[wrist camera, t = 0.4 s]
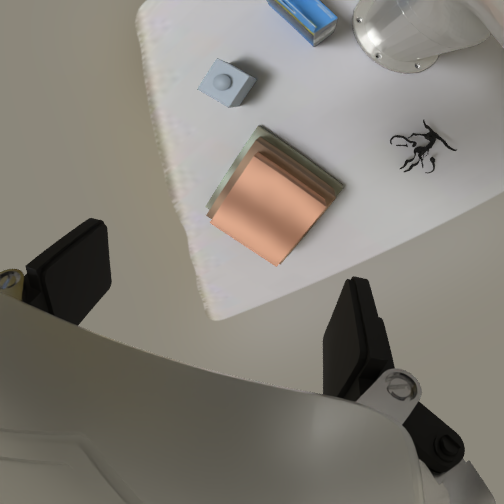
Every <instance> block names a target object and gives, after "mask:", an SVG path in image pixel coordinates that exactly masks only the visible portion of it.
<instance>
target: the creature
mask: <svg viewBox="0 0 504 504" xmlns="http://www.w3.org/2000/svg"><path fill="white" fill-rule="evenodd" d="M423 123H424V126H425V128H427V129H429V131H430V132H429V133H427V134H415V133H413V134H412V135H411V136H410V137H412V136H413V135H415V136H416V135H422V136H424V137H425V138H426V139H427V140H429V141H430V142H429V144H428V145H427V146H425V147H416V148H415V149H414V154H415V155H416V153H418V157H419V161H420V159H421V161H423V159H422V157H421V156H422V155H423V157H424V153H425V152H426V151H427V150H428V151H429V149H430V148H432V146H433V144H434V143H435V141H436V138H437V139H439V140H441V141H442V142H443V143H444V145H445V146H446V147H447V148H449V149H451V150H453V151H456V150H457V149H456V150H455V149H453V148H451V147H450V146H448V144H447V143H446V142H445V141H444V140H443V139H442V138H441V137H440V136H439V135H438V134H437V133H435V132H434V131H433V130H432V129H431V128H430V127H429V126H428V125H426V124H425V121H424V120H423ZM394 137H399V138H404V139H405V140H406V142H407V141H408V142H410V143H413V145H412V147H415V146H416V144H417V143H416V142H415V141H410V140H408V139H407V138H406V137H404V136H399V135H396V136H393V137H392V138H391V140H392V139H393V138H394ZM410 137H408V138H410ZM391 140H390V143H391ZM391 144H392V143H391ZM396 146H406V147H408V146H407V144H406V145H396ZM426 156H427V155H426ZM414 158H415V156H414ZM414 158H412V159H410V160H406V161H405V164H404V166H403V167H401V168H400V169H402V168H404V167H405V166H406V165H407V163H408V162H412V161H413V160H414ZM432 160H433V161H432ZM419 161H418V162H417V163H415V164H412V165H411V166H410V168H409V169H408V170H406V171H404V172H407V171H410V170H411V169H412V168H413V166H416V165H417V164H418V163H419ZM430 161H431V162H432V164H433V170H432V171H431V172H433V171H434V169H435V164H434V162H435V159H434V158H433V157H431V158H430ZM421 164H422V168H423V163H421ZM431 172H429V173H431ZM425 173H426V172H425Z"/></svg>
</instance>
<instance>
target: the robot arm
mask: <svg viewBox="0 0 504 504" xmlns="http://www.w3.org/2000/svg"><path fill="white" fill-rule="evenodd" d="M357 20H359V21H360V23H358V22H357ZM352 26H353V31H354V35H355V37H356V39H357V42H358V43H359V45H360V47H361V48H362V50H363V51H364V52H365V53H366V54H367V55H368V56H369V57H370V58H371V59H372V60H373V61H375V62H376V63H377V64H379V65H381V66H382V67H384V68H386V69H389V70H391V71H395V72H399V73H415V72H420V71H423V70H425V69H427V68H429V67H430V66H431V65H432V64H433V63H434V62H435V61H436V60H437V58H438V56H439V54H442V53H446V52H450V51H455V50H459V49H463V48H467V47H471V46H475V45H478V44H480V43H482V42H483V41H485V40H486V39H487V38H488V37H489V36H490V35H491V34H492V35H493V36H494V38H495V39H496V40H497V41H498V42H499V43H500V45H501V46H502V47H503V49H504V0H360V1H359V3H358V4H357V6H356V8H355V10H354V13H353V18H352ZM376 55H378V56H379V59H377V58H376ZM415 65H417V68H416V67H415ZM26 270H27V274H26V275H25V276H24V274H23V272H22V271H21V270H19V269H7V270H4V271H2V272H0V504H496V503H495V499H494V497H493V495H492V493H491V492H490V490H489V489H488V487H487V486H486V484H485V483H484V481H483V480H482V478H481V477H480V475H479V474H478V472H477V471H476V469H475V468H474V466H473V465H472V464H471V462H470V461H467V462H465V461H464V459H463V456H464V452H465V448H464V443H463V441H462V439H461V437H460V436H459V435H458V434H457V433H456V432H455V431H454V430H452V429H451V428H450V427H449V426H448V425H446V424H445V423H444V422H443V421H442V420H440V419H439V418H438V417H437V416H436V415H434V414H433V413H432V412H431V411H430V410H428V409H427V408H426V407H425V406H423V404H421V403H420V402H419V400H420V397H421V394H422V390H421V386H420V383H419V382H418V380H417V379H416V378H415V377H414V376H413V375H412V374H411V373H409V372H407V371H405V370H402V369H395V367H394V363H393V358H392V354H391V350H390V346H389V341H388V338H387V333H386V330H385V326H384V322H383V320H382V318H380V317H378V314H377V310H376V306H375V302H374V299H373V295H372V291H371V288H370V284H369V281H368V280H367V279H363V278H359V277H352V279H351V280H349V279H347V280H346V281H345V284H344V286H343V289H342V292H341V294H340V297H339V299H338V302H337V305H336V307H335V309H334V312H333V314H332V317H331V319H330V322H329V324H328V326H327V329H326V331H325V334H324V337H323V394H318V393H313V392H308V391H302V390H298V389H293V388H287V387H282V386H277V385H273V384H268V383H263V382H259V381H254V380H250V379H245V378H241V377H237V376H233V375H229V374H225V373H221V372H217V371H213V370H209V369H205V368H202V367H198V366H194V365H191V364H188V363H184V362H180V361H177V360H174V359H171V358H167V357H164V356H161V355H158V354H155V353H151V352H148V351H145V350H142V349H139V348H136V347H133V346H130V345H127V344H125V343H122V342H119V341H116V340H114V339H111V338H108V337H106V336H103V335H100V334H98V333H95V332H92V331H90V330H87V329H85V328H82V327H79V326H78V325H79V324H80V322H81V321H82V320H83V319H84V318H85V316H86V315H87V314H88V313H89V312H90V311H91V309H92V308H93V307H94V306H95V305H96V303H97V302H98V301H99V300H100V299H101V298H102V297H103V295H104V294H105V293H106V292H107V291H108V290H109V288H110V286H111V282H112V281H111V270H110V260H109V247H108V232H107V226H106V225H105V224H104V222H103V221H102V220H97V219H93V218H89V219H88V220H86V221H85V222H83V223H82V224H81V225H79V226H78V227H76V228H75V229H73V230H72V231H71V232H69V233H68V234H67V235H65V236H64V237H62V238H61V239H60V240H58V241H57V242H56V243H54V244H53V245H52V246H50V247H49V248H48V249H46V250H45V251H44V252H43V253H41V254H40V255H39V256H37V257H36V258H35V259H34V260H32V261H31V262H30V263H29V264H27V265H26Z"/></svg>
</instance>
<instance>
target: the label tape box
mask: <svg viewBox="0 0 504 504" xmlns="http://www.w3.org/2000/svg"><path fill="white" fill-rule="evenodd" d="M267 2H268V4H269V5H270V6H271V7H272V8H273V9H274V10H275V11H276V12H277V13H279V14H280V15H281V16H282V17H283V18H284V19H285V20H286V21H287V22H288V23H289V24H291V25H292V26H293V27H294V28H295V29H296V30H297V31H298V32H299V33H300V34H301V35H302V36H303V37H304V38H305V39H306V40H307V41H308V42H309V43H310V44H311V45H312V46H313V47H315V46H316V45H317V44H319V43H320V42H321V41H323V40H324V39H325V38H326V37H328V36H329V35H330V34H332V33H333V32H334V30H335V26H336V23H337V20H338V17H337V16H336V15H335V14H334V13H333V12H332V11H331V10H330V9H328V8H327V7H326V6H325V5H324V4H323V3H322V2H321V1H320V0H267Z"/></svg>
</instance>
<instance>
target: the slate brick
mask: <svg viewBox="0 0 504 504" xmlns="http://www.w3.org/2000/svg"><path fill="white" fill-rule="evenodd" d="M256 80H257V79H256V78H254V77H252V76H251V75H249V74H247V73H246V72H244V71H242V70H240V69H239V68H237V67H235V66H233V65H231V64H230V63H228V62H225V61H223V60H220V59H218V58H217V59H216V60H215V62H214V63H213V65H212V66H211V68H210V70H209V71H208V73H207V74H206V76H205V77H204V79H203V81H202V82H201V84H200V86H199V87H198V90H199V91H201V92H203V93H205V94H206V95H208V96H210V97H211V98H213V99H215V100H217V101H218V102H220V103H222V104H223V105H225V106H227V107H228V108H230V107H237V106H239V105H240V104H241V102H242V101H243V99H244V98H245V97H246V95H247V94H248V92H249V91H250V89H251V88H252V86H253V85H254V83H255V82H256Z"/></svg>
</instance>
